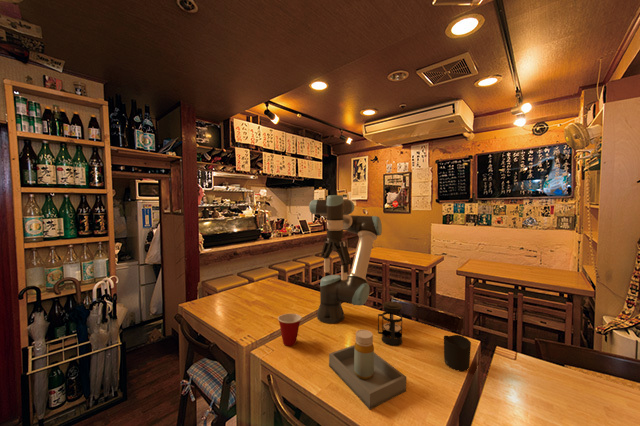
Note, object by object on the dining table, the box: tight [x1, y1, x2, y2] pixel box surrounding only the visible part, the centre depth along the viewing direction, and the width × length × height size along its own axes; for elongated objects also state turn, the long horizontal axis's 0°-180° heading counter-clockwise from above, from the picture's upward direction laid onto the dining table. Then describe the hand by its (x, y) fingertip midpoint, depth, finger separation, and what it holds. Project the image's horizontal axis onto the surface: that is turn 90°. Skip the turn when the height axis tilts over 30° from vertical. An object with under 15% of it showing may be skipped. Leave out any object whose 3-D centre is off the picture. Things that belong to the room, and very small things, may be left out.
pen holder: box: [443, 334, 472, 372], centre depth 99 cm, size 9×9×10 cm
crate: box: [328, 344, 407, 410], centre depth 92 cm, size 16×24×5 cm, turn 29°
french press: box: [377, 290, 404, 347], centre depth 117 cm, size 12×9×23 cm
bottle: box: [354, 329, 375, 379], centre depth 92 cm, size 7×7×15 cm
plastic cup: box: [277, 313, 302, 347], centre depth 115 cm, size 11×11×12 cm
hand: (335, 275), depth 115 cm, fingers open, 13 cm apart
